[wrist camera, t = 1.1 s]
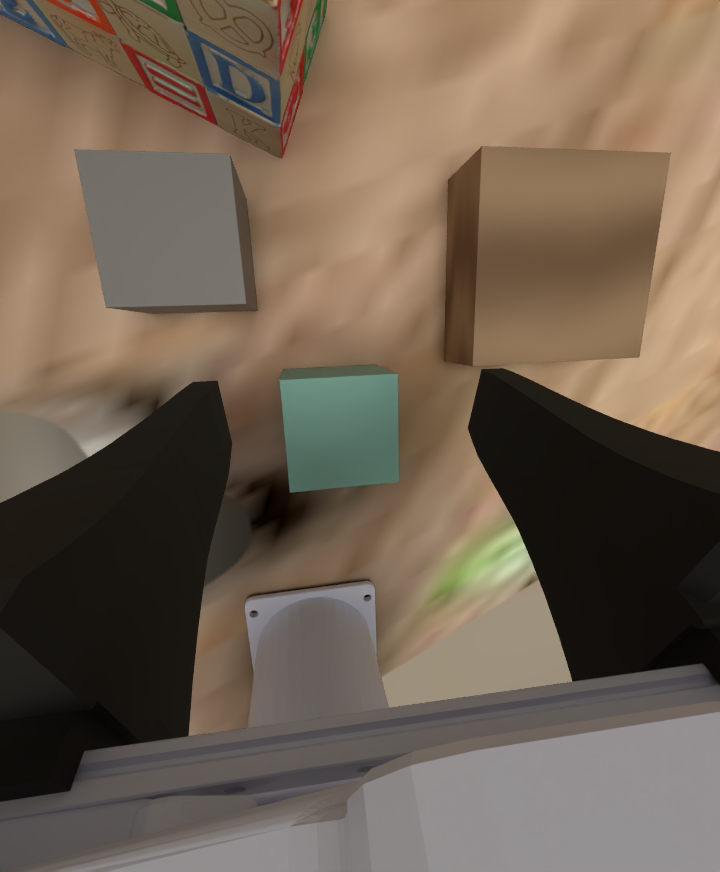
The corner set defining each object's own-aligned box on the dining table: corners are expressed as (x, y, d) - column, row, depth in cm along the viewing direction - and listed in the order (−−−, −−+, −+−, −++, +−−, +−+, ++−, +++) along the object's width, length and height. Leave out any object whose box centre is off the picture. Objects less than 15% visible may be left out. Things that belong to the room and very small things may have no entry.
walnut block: (583, 353, 23) (639, 357, 20) (442, 360, 22) (472, 366, 18) (602, 185, 21) (670, 153, 17) (445, 182, 20) (481, 146, 16)
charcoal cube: (257, 310, 20) (245, 303, 15) (153, 313, 19) (105, 307, 14) (246, 200, 18) (229, 153, 14) (134, 199, 18) (73, 149, 13)
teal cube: (376, 450, 23) (398, 482, 18) (290, 457, 22) (290, 492, 17) (374, 364, 21) (397, 373, 17) (283, 369, 21) (279, 380, 16)
